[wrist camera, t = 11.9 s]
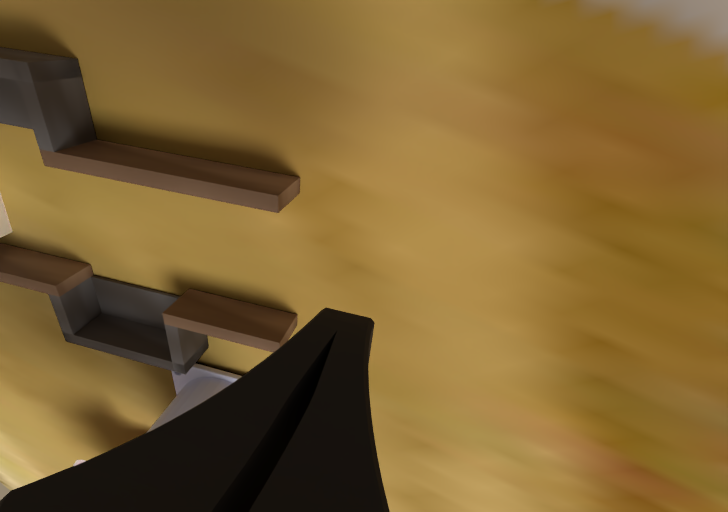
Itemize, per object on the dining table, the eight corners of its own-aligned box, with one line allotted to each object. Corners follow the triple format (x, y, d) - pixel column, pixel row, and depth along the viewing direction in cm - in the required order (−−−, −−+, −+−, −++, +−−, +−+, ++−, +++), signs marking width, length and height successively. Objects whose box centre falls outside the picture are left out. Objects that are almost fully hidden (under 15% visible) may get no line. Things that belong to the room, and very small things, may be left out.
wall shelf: (296, 370, 26) (276, 407, 23) (-45, 280, 30) (-94, 303, 27) (301, 92, 17) (271, 103, 15) (-178, 20, 21) (-266, 18, 19)
